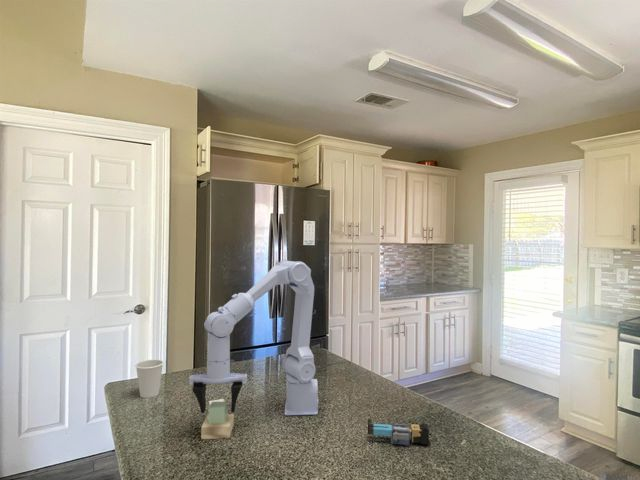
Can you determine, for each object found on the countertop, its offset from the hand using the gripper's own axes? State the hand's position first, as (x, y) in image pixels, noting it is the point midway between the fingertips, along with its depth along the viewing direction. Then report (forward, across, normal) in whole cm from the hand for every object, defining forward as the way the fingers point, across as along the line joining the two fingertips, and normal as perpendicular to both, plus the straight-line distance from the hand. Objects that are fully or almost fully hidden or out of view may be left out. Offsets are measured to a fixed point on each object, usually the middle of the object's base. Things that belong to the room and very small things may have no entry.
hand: (218, 411), depth 100 cm
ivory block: (+6, +2, -9) cm, 11 cm away
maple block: (+5, 0, 0) cm, 5 cm away
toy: (+6, -46, +7) cm, 47 cm away
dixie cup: (+6, +27, -26) cm, 38 cm away
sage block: (+2, 0, 0) cm, 2 cm away
